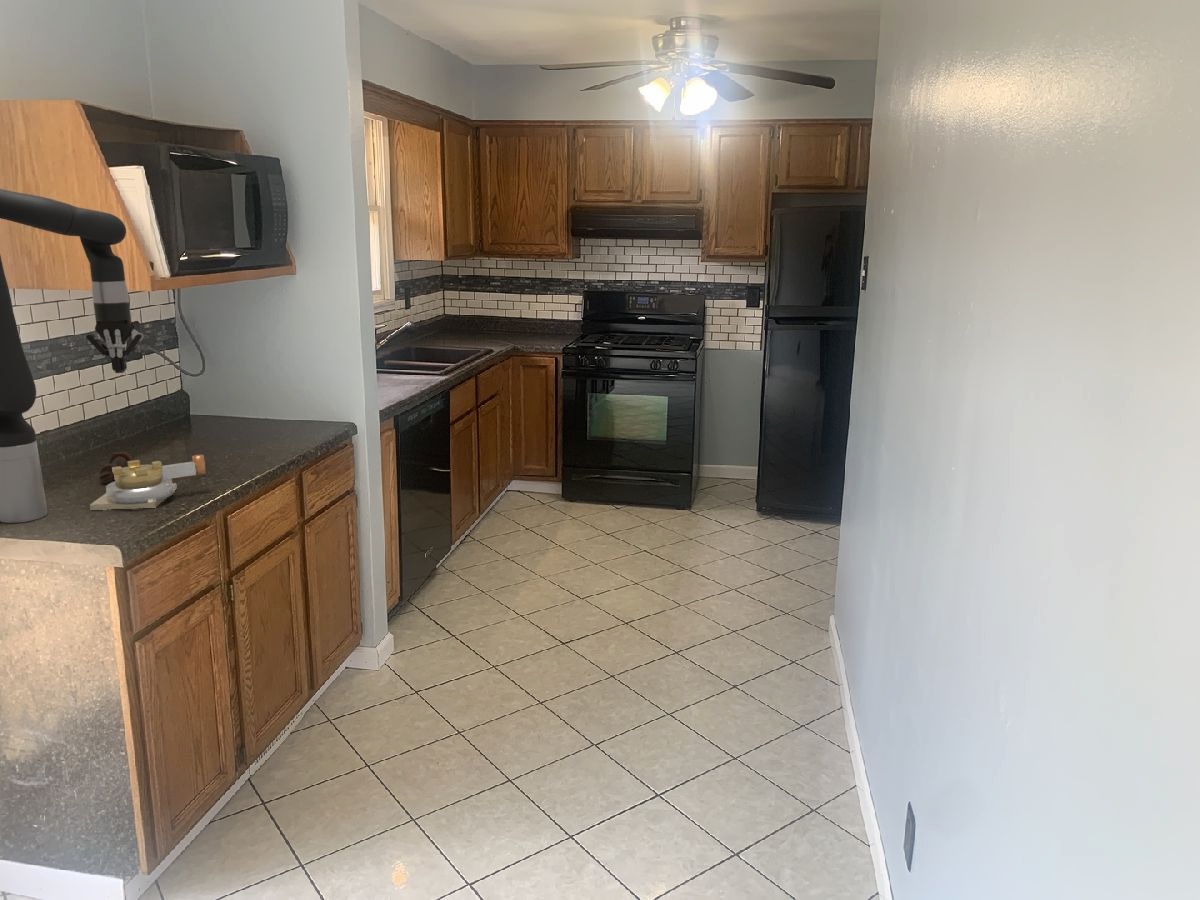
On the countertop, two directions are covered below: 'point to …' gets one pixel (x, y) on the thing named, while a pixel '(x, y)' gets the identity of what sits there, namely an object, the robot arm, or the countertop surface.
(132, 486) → the yellow disc with lever
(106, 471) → the bolt
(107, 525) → the countertop surface
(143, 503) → the cap housing
